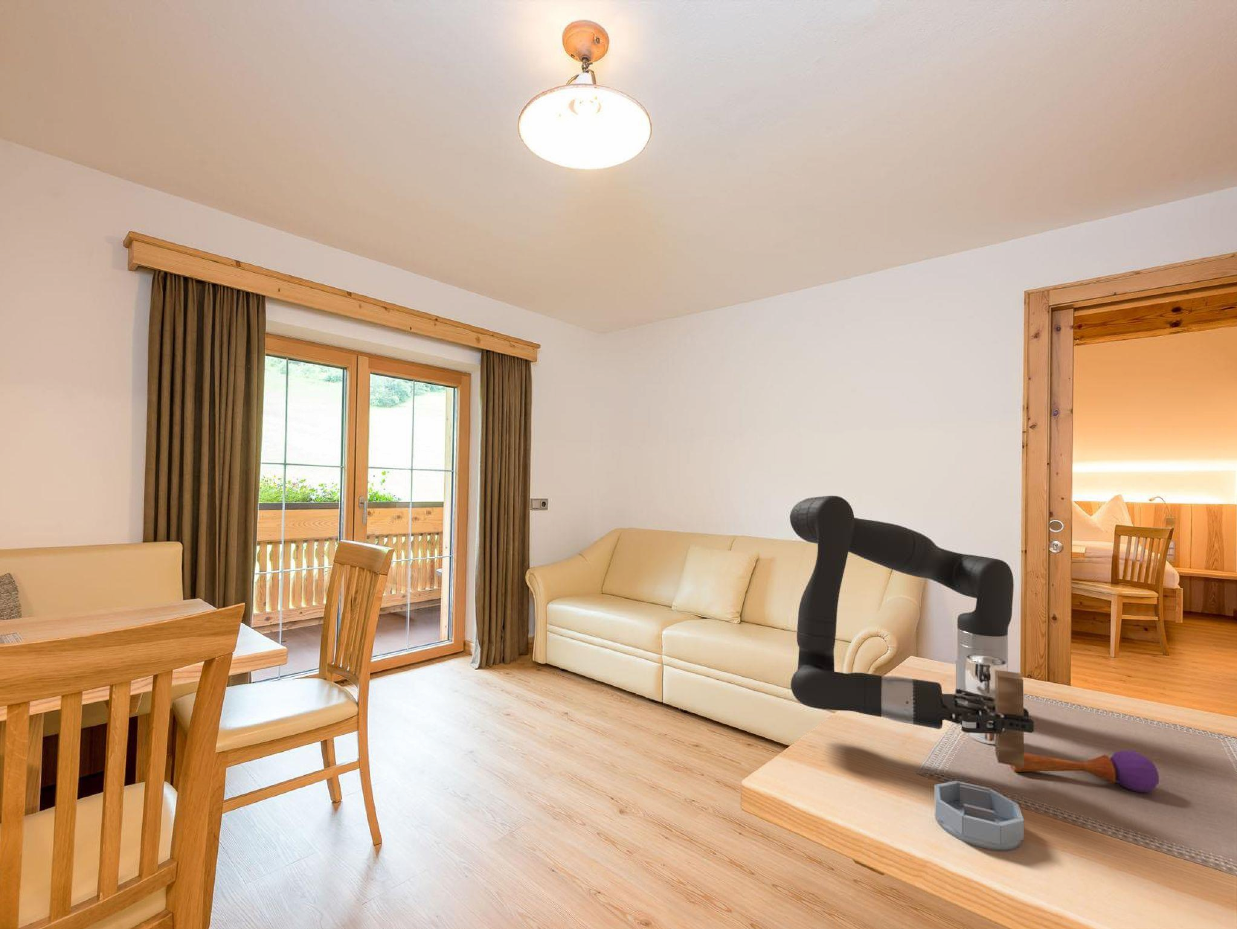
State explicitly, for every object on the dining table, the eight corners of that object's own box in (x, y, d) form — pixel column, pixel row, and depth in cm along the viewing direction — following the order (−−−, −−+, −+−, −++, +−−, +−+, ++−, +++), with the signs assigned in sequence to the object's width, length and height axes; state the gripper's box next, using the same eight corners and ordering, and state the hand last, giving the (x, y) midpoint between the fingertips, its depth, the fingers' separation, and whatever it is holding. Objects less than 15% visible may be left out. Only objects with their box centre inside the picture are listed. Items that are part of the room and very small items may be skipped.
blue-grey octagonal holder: (936, 835, 78) (937, 806, 78) (933, 798, 87) (933, 772, 87) (1028, 860, 73) (1028, 828, 73) (1014, 817, 82) (1014, 790, 83)
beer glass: (969, 742, 107) (969, 662, 107) (961, 727, 113) (962, 652, 113) (1012, 749, 104) (1012, 667, 104) (1002, 733, 110) (1002, 656, 111)
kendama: (1003, 738, 100) (1142, 747, 94) (1008, 774, 99) (1149, 787, 93) (1014, 746, 95) (1162, 757, 88) (1020, 785, 93) (1171, 799, 87)
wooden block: (998, 762, 91) (997, 676, 91) (995, 753, 94) (994, 669, 94) (1023, 767, 90) (1023, 679, 90) (1020, 758, 93) (1019, 673, 93)
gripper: (911, 693, 92) (1040, 713, 85) (910, 667, 105) (1022, 683, 97) (911, 739, 92) (1040, 764, 84) (910, 707, 105) (1022, 726, 97)
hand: (1029, 720), depth 91 cm, fingers closed on wooden block, 3 cm apart
